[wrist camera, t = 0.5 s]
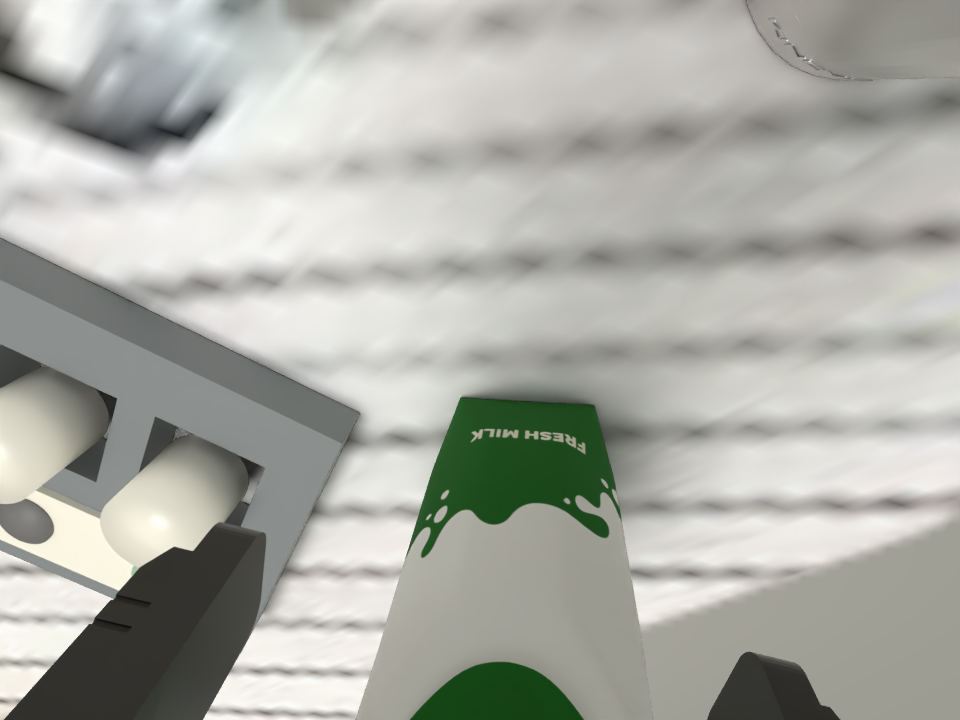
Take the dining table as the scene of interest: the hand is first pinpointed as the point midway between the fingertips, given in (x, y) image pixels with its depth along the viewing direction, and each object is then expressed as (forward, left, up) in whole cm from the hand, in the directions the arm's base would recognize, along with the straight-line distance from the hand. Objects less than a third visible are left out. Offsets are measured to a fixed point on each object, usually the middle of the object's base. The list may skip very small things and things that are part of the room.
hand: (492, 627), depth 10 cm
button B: (+18, -18, -18) cm, 31 cm away
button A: (+18, -10, -18) cm, 27 cm away
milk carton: (+9, +5, -20) cm, 22 cm away
